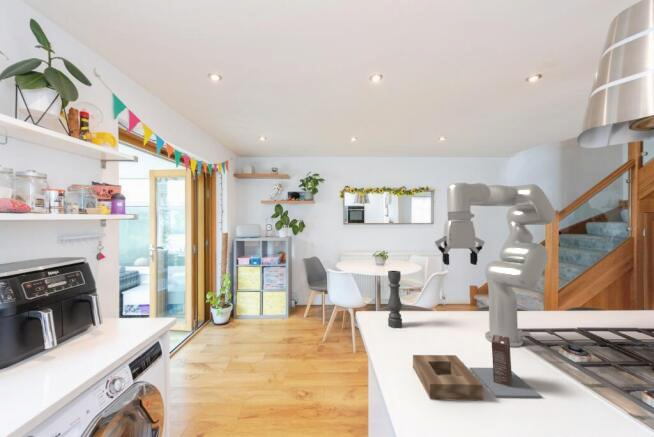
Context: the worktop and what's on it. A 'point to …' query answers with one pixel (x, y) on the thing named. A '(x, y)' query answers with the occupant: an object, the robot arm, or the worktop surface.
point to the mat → (501, 391)
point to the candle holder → (394, 300)
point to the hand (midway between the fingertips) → (459, 264)
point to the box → (501, 360)
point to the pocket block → (447, 378)
